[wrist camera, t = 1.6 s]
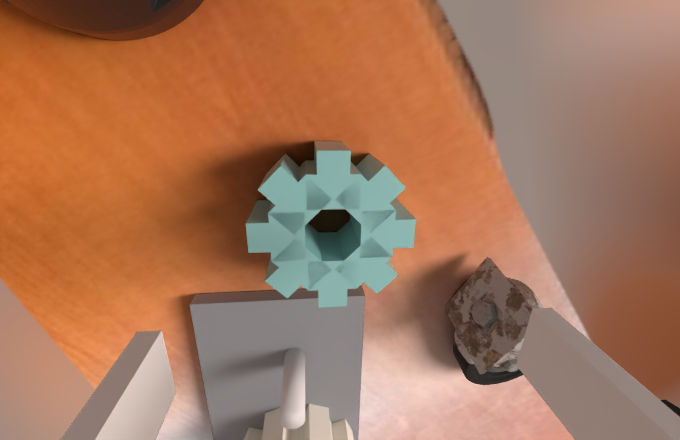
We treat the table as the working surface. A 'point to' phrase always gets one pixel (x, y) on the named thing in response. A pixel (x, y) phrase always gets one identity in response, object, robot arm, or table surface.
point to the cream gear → (302, 427)
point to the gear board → (278, 357)
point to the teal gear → (329, 247)
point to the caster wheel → (490, 324)
